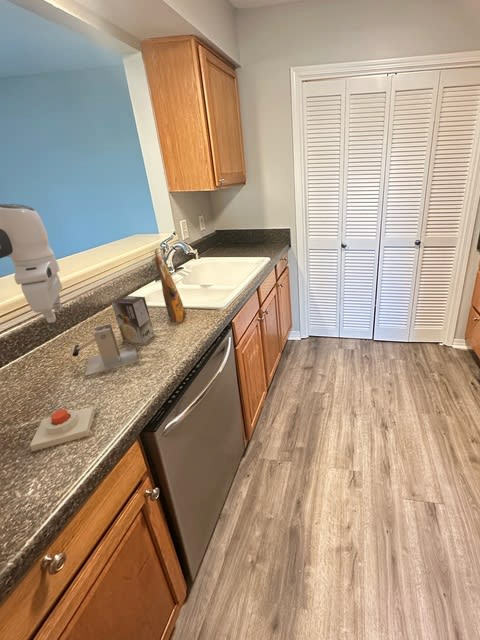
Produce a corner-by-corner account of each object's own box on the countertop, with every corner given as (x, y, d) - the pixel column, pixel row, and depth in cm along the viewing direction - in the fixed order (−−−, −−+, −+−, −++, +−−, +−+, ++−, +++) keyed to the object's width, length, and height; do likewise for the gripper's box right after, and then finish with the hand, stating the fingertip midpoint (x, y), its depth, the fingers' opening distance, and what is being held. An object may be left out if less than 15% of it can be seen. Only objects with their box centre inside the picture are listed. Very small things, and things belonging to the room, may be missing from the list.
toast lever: (76, 358, 96) (69, 353, 95) (78, 351, 100) (72, 345, 99) (110, 336, 98) (104, 330, 97) (111, 329, 102) (105, 324, 101)
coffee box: (156, 336, 119) (146, 296, 112) (144, 345, 113) (133, 303, 107) (135, 335, 121) (123, 295, 115) (122, 343, 115) (110, 302, 109)
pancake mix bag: (165, 328, 125) (147, 258, 114) (169, 309, 142) (154, 246, 131) (183, 325, 126) (168, 255, 115) (185, 307, 143) (172, 244, 132)
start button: (51, 426, 74) (48, 420, 73) (55, 417, 77) (52, 411, 76) (67, 422, 75) (65, 416, 74) (71, 413, 78) (68, 407, 77)
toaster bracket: (86, 379, 96) (72, 341, 91) (90, 361, 105) (77, 326, 100) (137, 365, 102) (127, 329, 97) (136, 349, 111) (127, 316, 106)
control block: (32, 451, 72) (26, 440, 70) (44, 424, 79) (39, 413, 78) (88, 436, 75) (83, 424, 74) (95, 411, 83) (91, 400, 81)
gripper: (32, 260, 93) (48, 305, 98) (12, 280, 76) (33, 332, 81) (58, 257, 95) (73, 300, 101) (44, 275, 78) (63, 326, 84)
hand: (55, 315), depth 91 cm, fingers open, 8 cm apart
